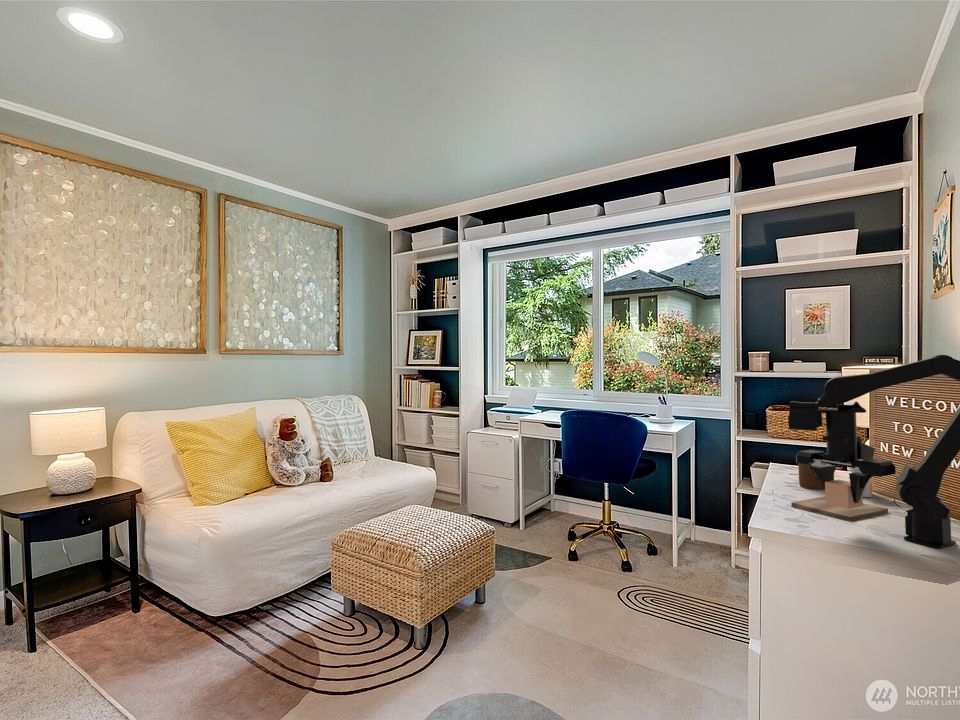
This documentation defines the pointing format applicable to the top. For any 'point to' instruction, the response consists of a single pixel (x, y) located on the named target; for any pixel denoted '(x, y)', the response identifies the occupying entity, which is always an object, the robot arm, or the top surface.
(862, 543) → the top surface
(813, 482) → the mug
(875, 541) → the top surface
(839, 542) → the top surface
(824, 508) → the walnut board
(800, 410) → the robot arm
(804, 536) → the top surface
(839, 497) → the terracotta cube
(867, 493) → the skincare box
